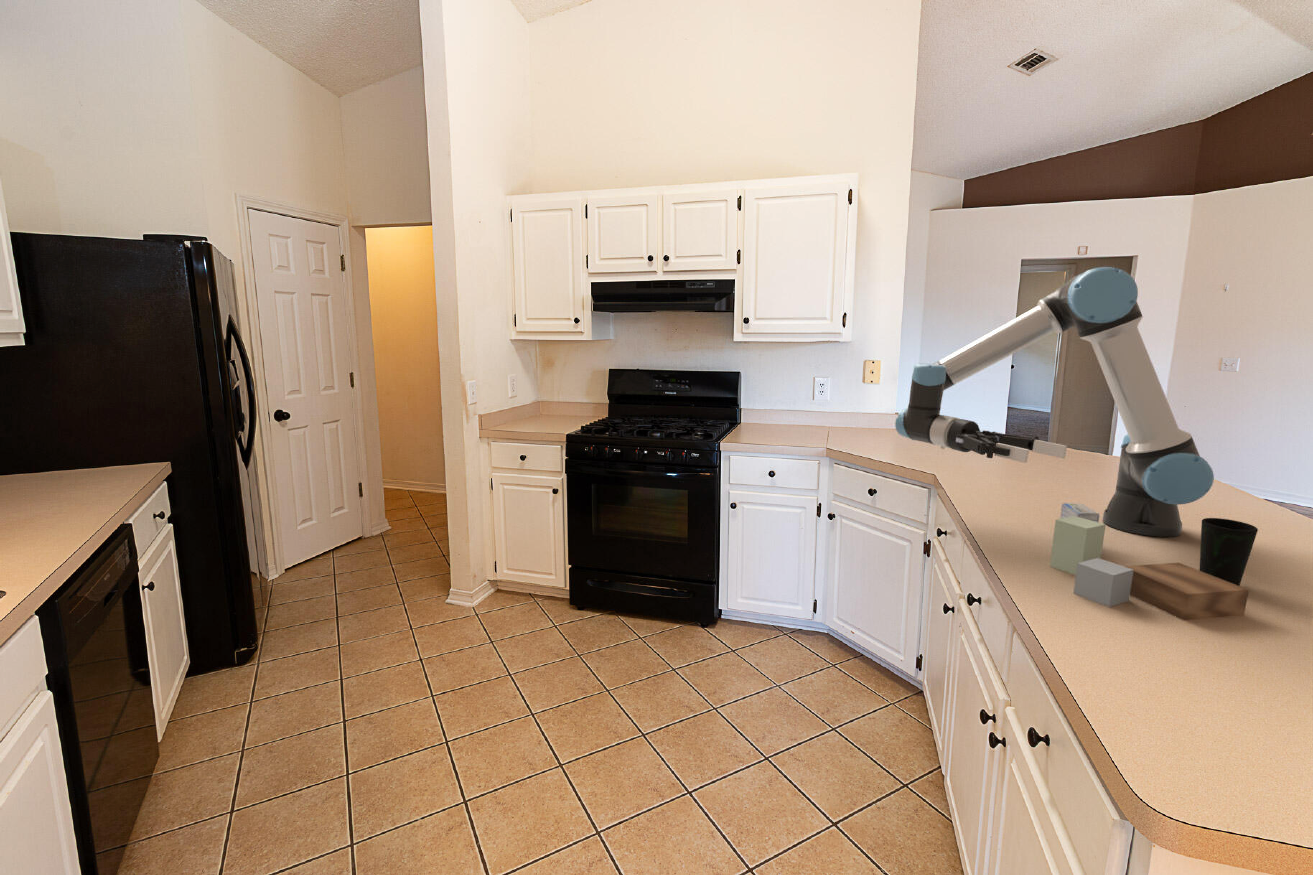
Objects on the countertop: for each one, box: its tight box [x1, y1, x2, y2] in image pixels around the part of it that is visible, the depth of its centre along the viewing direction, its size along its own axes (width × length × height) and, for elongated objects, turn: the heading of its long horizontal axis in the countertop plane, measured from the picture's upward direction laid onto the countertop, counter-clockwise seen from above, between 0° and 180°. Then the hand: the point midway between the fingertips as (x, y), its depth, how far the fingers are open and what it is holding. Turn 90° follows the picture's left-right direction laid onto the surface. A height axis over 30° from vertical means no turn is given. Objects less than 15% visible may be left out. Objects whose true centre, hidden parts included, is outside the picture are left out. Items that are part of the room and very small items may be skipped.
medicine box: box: [1059, 502, 1100, 523], centre depth 135 cm, size 8×4×9 cm, turn 168°
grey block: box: [1073, 558, 1134, 608], centre depth 109 cm, size 6×6×6 cm
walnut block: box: [1123, 562, 1250, 621], centre depth 107 cm, size 12×12×5 cm
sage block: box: [1049, 516, 1107, 576], centre depth 121 cm, size 6×6×10 cm
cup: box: [1198, 517, 1259, 586], centre depth 114 cm, size 8×8×12 cm
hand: (1046, 454), depth 125 cm, fingers open, 13 cm apart
